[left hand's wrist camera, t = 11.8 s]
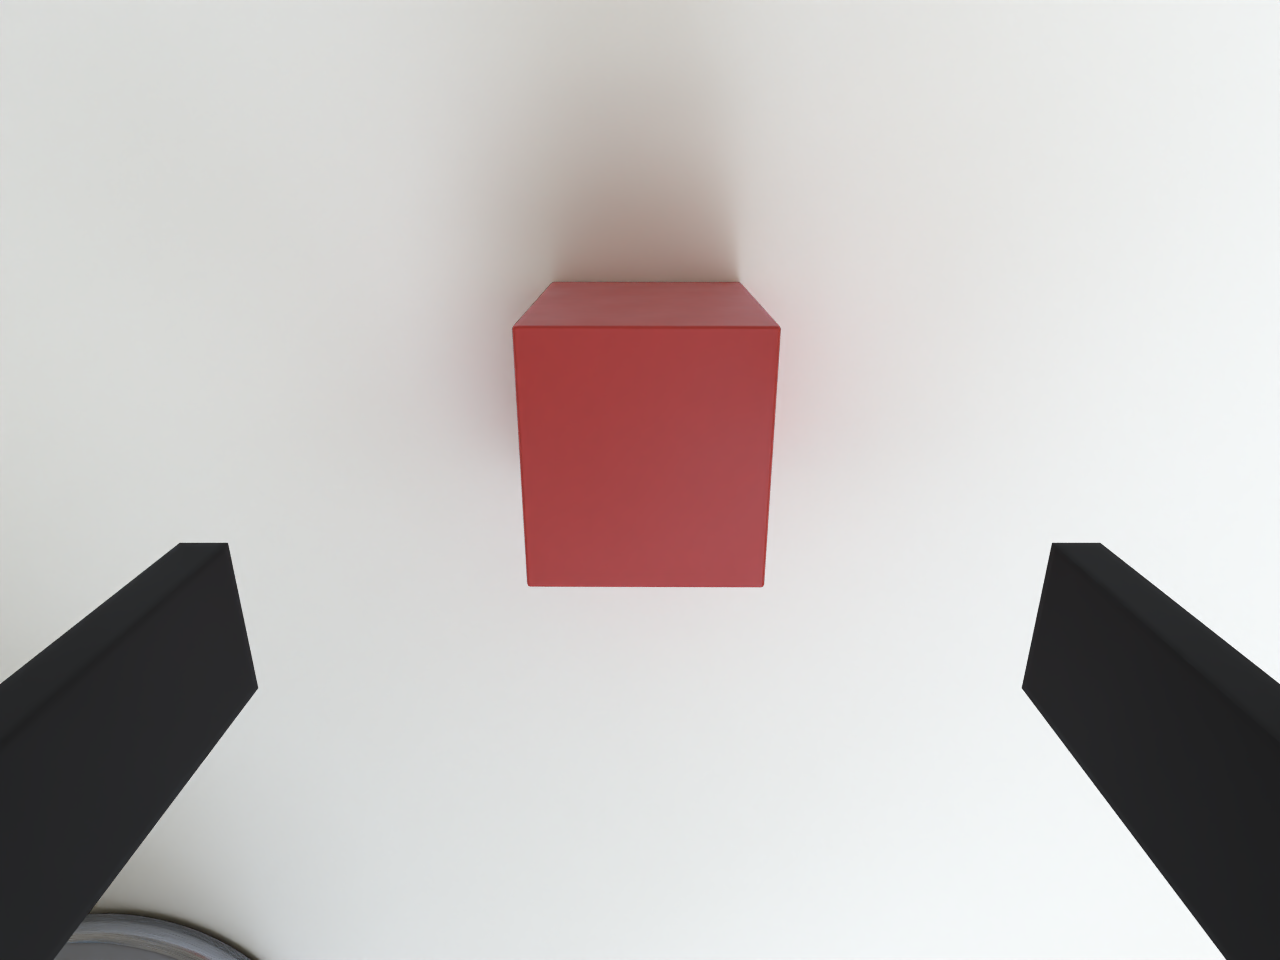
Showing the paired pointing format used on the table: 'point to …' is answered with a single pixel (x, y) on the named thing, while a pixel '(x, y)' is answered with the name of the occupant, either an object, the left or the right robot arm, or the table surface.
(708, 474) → the brick
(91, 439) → the table surface
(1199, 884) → the left robot arm
